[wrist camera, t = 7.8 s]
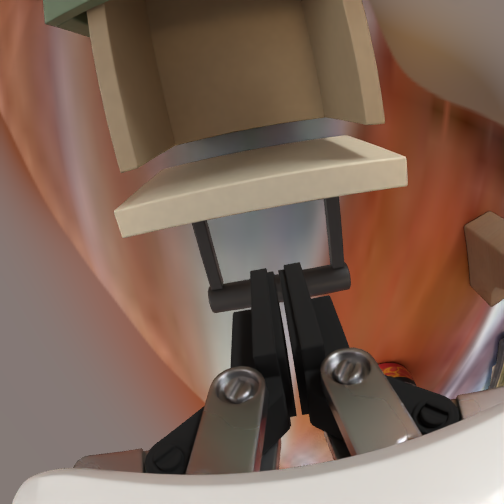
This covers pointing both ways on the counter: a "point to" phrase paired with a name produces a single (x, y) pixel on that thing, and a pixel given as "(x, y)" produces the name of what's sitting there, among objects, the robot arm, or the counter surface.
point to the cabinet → (69, 14)
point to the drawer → (240, 115)
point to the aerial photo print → (498, 368)
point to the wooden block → (486, 256)
